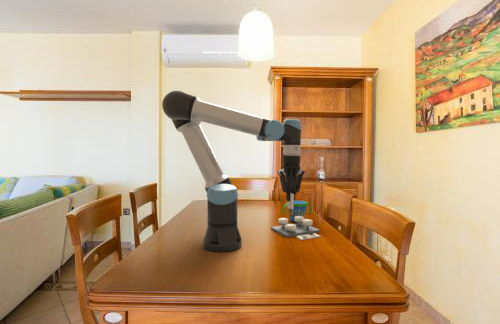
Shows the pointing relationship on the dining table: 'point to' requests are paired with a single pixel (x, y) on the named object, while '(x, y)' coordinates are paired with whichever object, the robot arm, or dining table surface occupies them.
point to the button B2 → (299, 219)
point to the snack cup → (298, 209)
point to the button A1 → (290, 227)
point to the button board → (299, 230)
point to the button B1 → (307, 222)
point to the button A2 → (283, 221)
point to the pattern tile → (308, 236)
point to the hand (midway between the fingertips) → (290, 208)
